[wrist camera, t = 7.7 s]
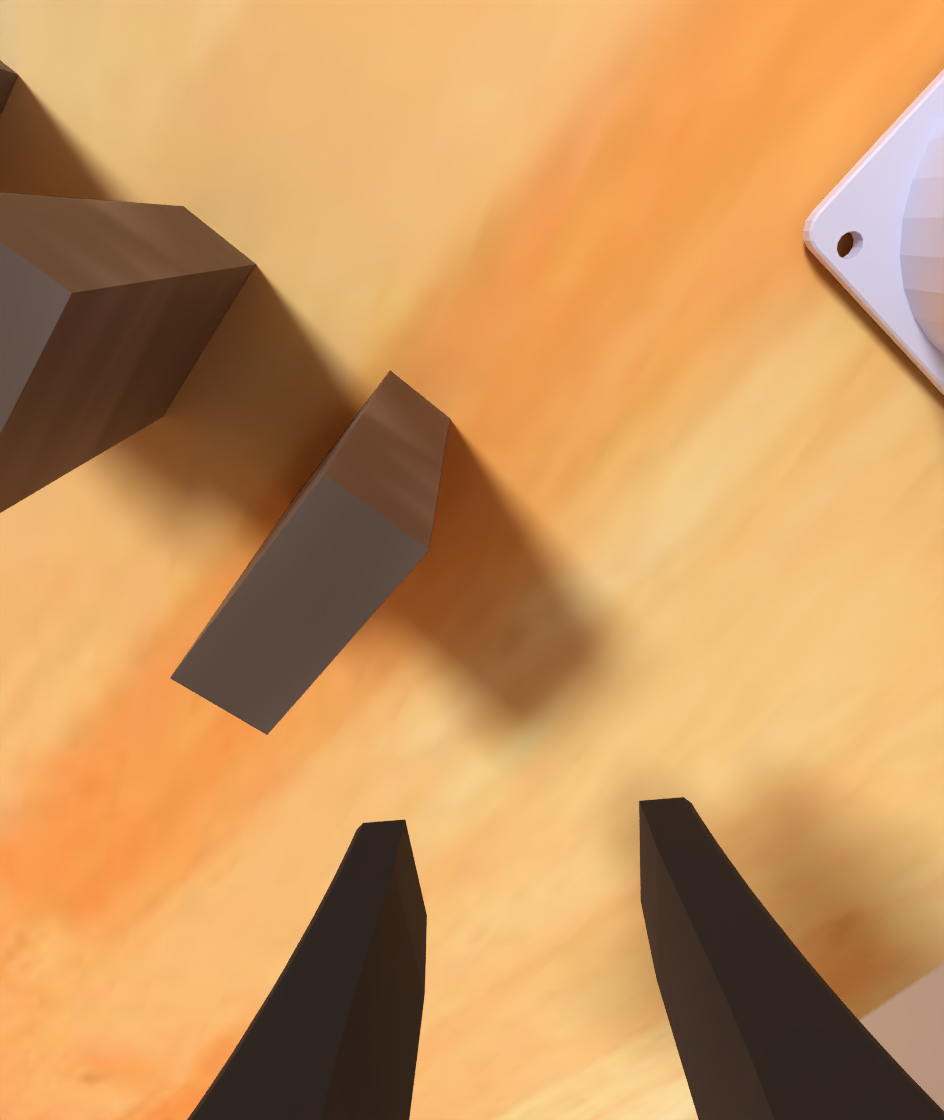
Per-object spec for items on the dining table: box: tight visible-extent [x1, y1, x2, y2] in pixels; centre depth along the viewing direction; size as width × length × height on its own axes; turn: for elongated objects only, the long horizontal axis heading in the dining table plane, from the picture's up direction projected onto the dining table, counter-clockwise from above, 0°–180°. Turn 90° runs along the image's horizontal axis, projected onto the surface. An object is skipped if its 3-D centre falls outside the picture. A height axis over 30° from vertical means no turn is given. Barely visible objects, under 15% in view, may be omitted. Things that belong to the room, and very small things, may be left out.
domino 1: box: [0, 192, 256, 513], centre depth 12 cm, size 2×4×8 cm, turn 141°
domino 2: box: [171, 371, 450, 735], centre depth 14 cm, size 2×4×8 cm, turn 141°
